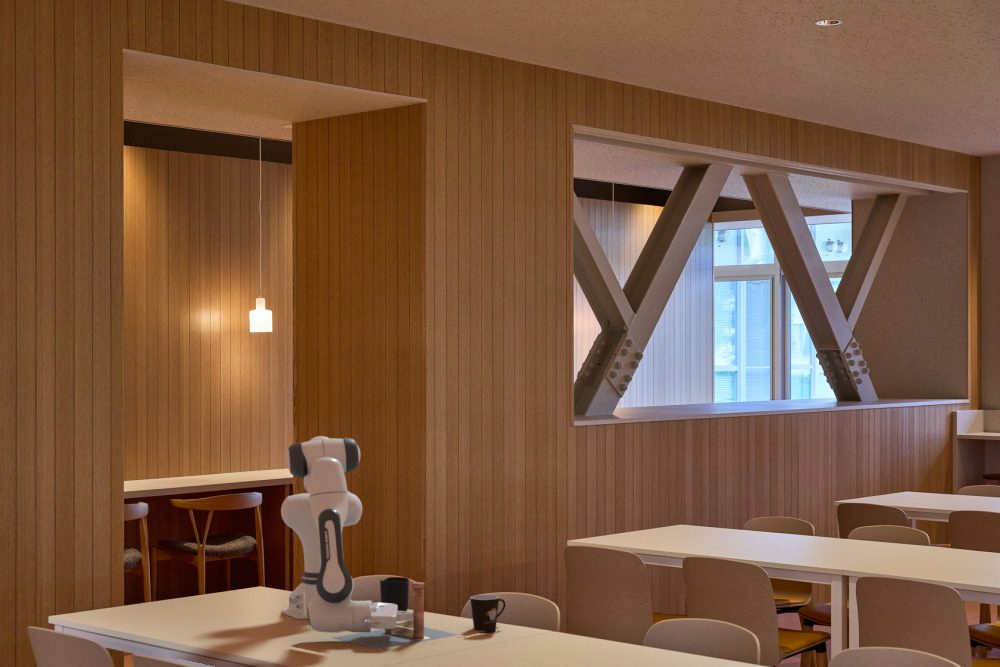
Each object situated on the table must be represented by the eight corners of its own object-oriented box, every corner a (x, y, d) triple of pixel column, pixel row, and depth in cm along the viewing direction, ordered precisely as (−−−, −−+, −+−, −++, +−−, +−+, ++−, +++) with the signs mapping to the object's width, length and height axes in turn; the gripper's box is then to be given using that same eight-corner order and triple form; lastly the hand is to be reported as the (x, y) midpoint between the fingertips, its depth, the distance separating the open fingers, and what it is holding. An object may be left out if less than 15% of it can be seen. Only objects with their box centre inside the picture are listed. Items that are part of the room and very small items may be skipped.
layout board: (332, 640, 359) (332, 637, 359) (411, 626, 378) (411, 623, 378) (378, 652, 343) (378, 648, 343) (458, 637, 362) (458, 634, 362)
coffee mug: (474, 634, 366) (474, 600, 366) (467, 629, 374) (467, 595, 375) (512, 632, 369) (512, 598, 369) (504, 627, 377) (504, 593, 378)
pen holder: (376, 608, 410) (376, 578, 410) (403, 606, 414) (403, 576, 414) (385, 613, 402) (385, 582, 402) (413, 611, 405) (413, 580, 406)
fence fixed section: (389, 634, 363) (389, 625, 364) (383, 633, 365) (383, 624, 365) (424, 626, 375) (424, 618, 375) (418, 625, 376) (418, 617, 377)
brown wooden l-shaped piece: (388, 633, 363) (388, 580, 363) (398, 631, 365) (397, 578, 366) (418, 639, 353) (417, 584, 354) (427, 637, 356) (427, 583, 357)
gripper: (363, 611, 345) (413, 611, 346) (366, 599, 365) (413, 598, 366) (362, 634, 345) (413, 634, 346) (366, 621, 365) (413, 620, 366)
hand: (413, 615), depth 356 cm, fingers closed, pressing on brown wooden l-shaped piece
